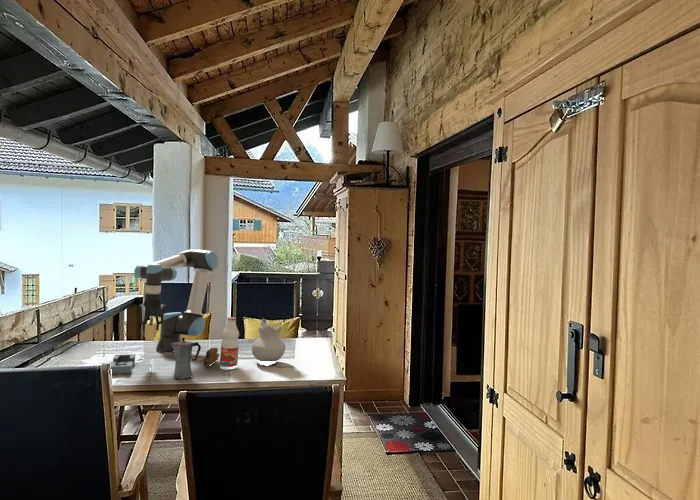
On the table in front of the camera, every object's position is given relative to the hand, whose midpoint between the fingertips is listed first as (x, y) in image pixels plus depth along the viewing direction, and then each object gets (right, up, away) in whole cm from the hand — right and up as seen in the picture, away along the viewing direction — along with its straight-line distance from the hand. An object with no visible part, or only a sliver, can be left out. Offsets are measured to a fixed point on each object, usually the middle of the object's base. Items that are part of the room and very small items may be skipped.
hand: (150, 336), depth 232 cm
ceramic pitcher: (+57, -21, +25) cm, 66 cm away
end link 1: (-15, -16, +2) cm, 22 cm away
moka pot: (+22, -19, -11) cm, 31 cm away
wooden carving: (+28, -19, +12) cm, 36 cm away
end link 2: (-10, -16, -11) cm, 22 cm away
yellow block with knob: (0, -1, 0) cm, 1 cm away
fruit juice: (+39, -19, +9) cm, 45 cm away
